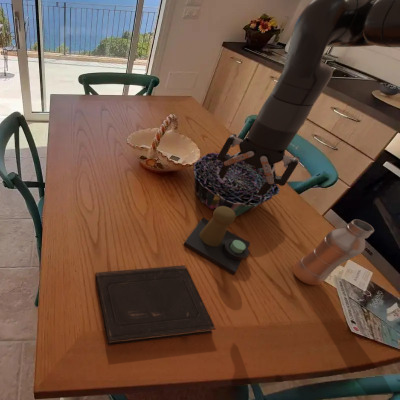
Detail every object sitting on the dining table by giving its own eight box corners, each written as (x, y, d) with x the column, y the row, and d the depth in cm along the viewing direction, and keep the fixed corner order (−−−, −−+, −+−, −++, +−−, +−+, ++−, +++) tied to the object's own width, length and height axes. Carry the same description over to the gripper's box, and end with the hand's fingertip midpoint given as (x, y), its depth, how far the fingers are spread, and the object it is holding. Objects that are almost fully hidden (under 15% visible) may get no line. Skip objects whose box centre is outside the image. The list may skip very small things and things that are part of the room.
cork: (222, 249, 73) (240, 222, 66) (199, 242, 74) (214, 215, 67) (221, 233, 77) (238, 206, 70) (199, 227, 79) (214, 200, 71)
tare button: (244, 248, 72) (247, 244, 71) (240, 255, 70) (243, 251, 69) (232, 241, 74) (235, 237, 72) (228, 248, 72) (231, 244, 70)
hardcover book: (211, 333, 58) (215, 328, 56) (107, 345, 55) (109, 341, 53) (182, 269, 69) (184, 263, 68) (94, 276, 66) (95, 271, 65)
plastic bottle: (294, 261, 73) (348, 209, 59) (322, 279, 69) (386, 228, 56) (285, 274, 70) (339, 222, 56) (313, 293, 66) (379, 243, 53)
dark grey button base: (250, 246, 76) (255, 240, 74) (235, 276, 69) (240, 270, 66) (201, 220, 83) (204, 213, 81) (183, 245, 75) (186, 238, 73)
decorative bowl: (272, 199, 94) (289, 176, 88) (248, 238, 78) (267, 213, 72) (203, 167, 107) (214, 145, 100) (170, 195, 90) (181, 170, 84)
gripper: (234, 114, 53) (204, 179, 64) (318, 141, 46) (268, 208, 57) (246, 104, 57) (216, 166, 68) (324, 127, 51) (277, 191, 62)
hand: (240, 185), depth 63 cm, fingers open, 8 cm apart
